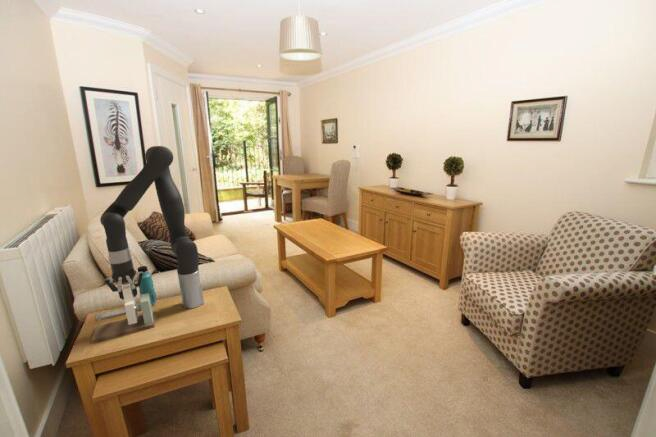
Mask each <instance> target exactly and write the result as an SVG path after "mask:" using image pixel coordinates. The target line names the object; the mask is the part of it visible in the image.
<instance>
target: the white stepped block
mask: <svg viewBox="0 0 656 437" xmlns="http://www.w3.org/2000/svg"><path fill="white" fill-rule="evenodd" d="M122 292H123V296H124V299H123V300H124V304H123V305H124V308H125V310H126V314H125V315H126V319H128V324H129V325H130V324H134V323H137V320H138V316H139V313H140V312H139V311H136V310H135V306H136V305H138V304H137V299H136V297H134V295H133V291H132V287H131V285H130V284H124V285H122Z"/></svg>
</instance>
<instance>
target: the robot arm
mask: <svg viewBox="0 0 656 437" xmlns="http://www.w3.org/2000/svg"><path fill="white" fill-rule="evenodd" d="M144 158H145V161H146V162H145V165H143V168H142V169H141V170H140V171H139V172H138V173H137V175H135V176H134V178H132V179H131V180H130V181H129V183H127V184H126V185H125V186H124V188H123V189H122V191H121V192H120V193H119V194H118V196H117V197H116V198H115V200H114V201H113V202H112V203H111V204H110V205H109V206H108V207H107V208H106V209H105V211H104V212H102V214H101V216H100V220H99V222H100V223H101V226H102V227H103V228H104V233H105V237H106V239H105V242H106V247H107V253H108V254H107V255H108V260H109V261H108V262H109V265H110V269H111V273H112V275H111V276H110V277H106V278H105V280H104V283H105V284H106V285H107V286H108V288H109V289H110V290H111V291H112V293H115V292H117V293H118V296H119V299H121V300H122V301H123V300H124V296H123V292H122V288H123V284H126V283H127V284H128V283H129V284H128V285H131V287H132V291H133V295H134V297H135V298H136V297H137V295H138V288H139V286H140V284H141V280H142V276H143V271H141V272H138V271H137V270H135V267H134V263H133V259H132V254H131V250H130V248H129V244H128V239H127V232H126V223H125V219H124V218H125V216H126V215H127V214H128V213H129V212H130V211H132V210H134V208H136V205H138V203H139V202H140V200H142V198H143V196H144V195H145V194H146V193H147V191H148V189H149V188H150V187H151V185H153V183H154V186H155V190H156V195H157V199H158V203H159V207H160V211H161V213H162V216H163V220H164V222H165V225H166V227H167V231H168V234H169V241H170V242H169V243H170V247H171V251H172V253H173V255H175V256H176V261H177V267H176V273H177V277H178V283H179V289H180V294H181V295H180V297H181V302H182V307H183V308H184V309H195V308H197V307H200V306H202V305H204V304H205V301H204V295H203V293H204V292H203V287H202V282H201V276H200V271H199V264H200V260H199V259H200V258H199V251H198V246H197V244H196V243H195V242H194V241H193V240H192V239H190V238H189V234H188V232H187V229H186V226H185V225H186V224H185V218H186V215H185V214H186V213H185V212H186V211H185V206H184V203H183V197H182V195H181V193H180V190H179V188H178V187H177V185H176V183H175V181H174V179H173V178H172V174H171V169H170V166H171V165H172V164H173V162H174V153H173V151H172V150H171V149H170V148H168V147H166V146H163V145H154V146H153V145H152V146H150V147H149V148H147V150H146V151H145V155H144ZM135 276H136V278H137V277H139V278H138V282H136V283H135V280H134V278H135ZM113 281H115V282H117V286H116V285H115V284H114V282H113Z"/></svg>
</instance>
